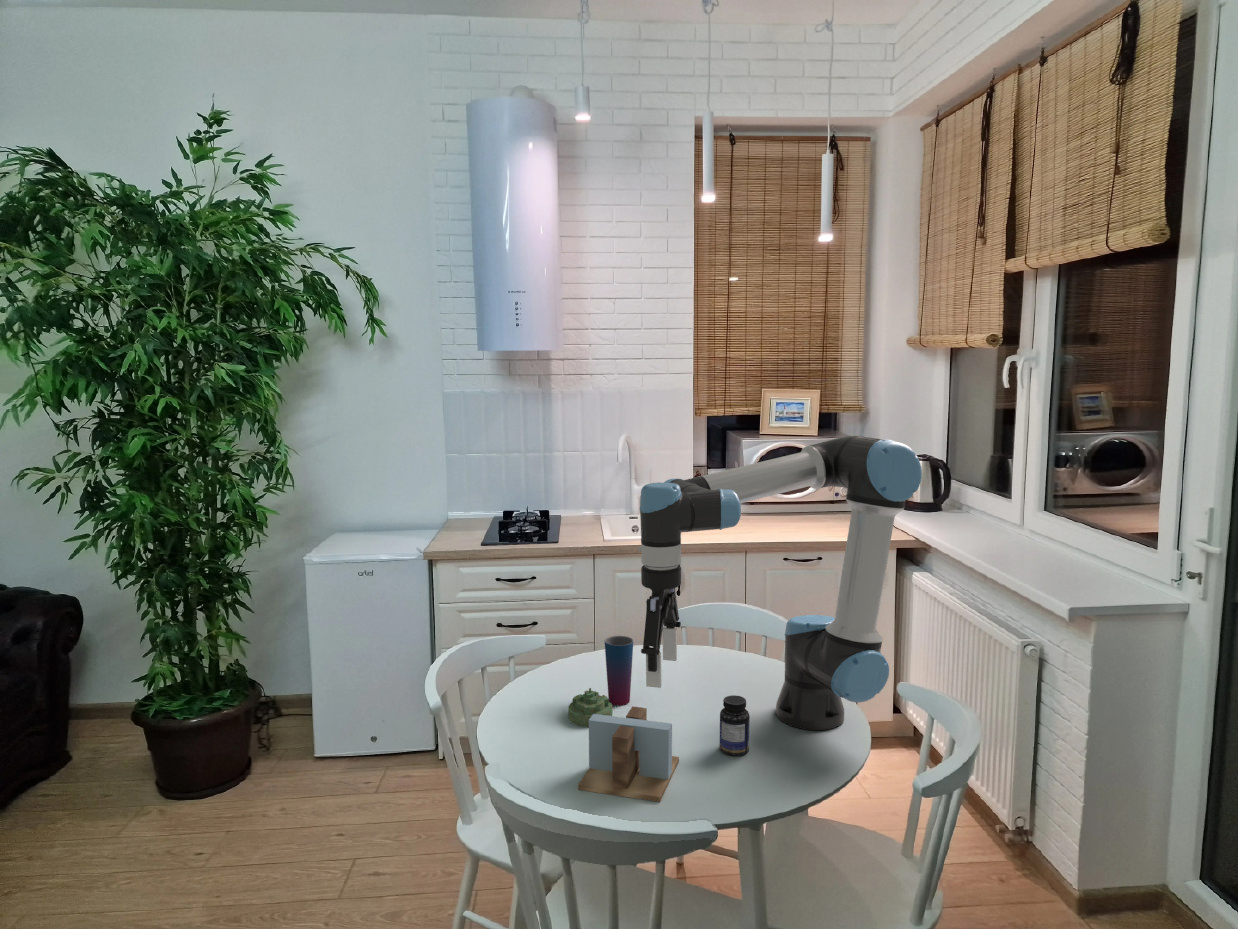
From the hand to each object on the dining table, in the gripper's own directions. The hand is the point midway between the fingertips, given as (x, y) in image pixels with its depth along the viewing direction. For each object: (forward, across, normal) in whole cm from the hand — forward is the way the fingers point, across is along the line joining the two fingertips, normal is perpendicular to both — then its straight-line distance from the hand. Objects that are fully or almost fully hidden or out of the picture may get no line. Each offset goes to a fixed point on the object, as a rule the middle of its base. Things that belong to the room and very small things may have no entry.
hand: (662, 672), depth 160 cm
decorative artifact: (+21, -22, -22) cm, 38 cm away
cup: (+21, -32, -18) cm, 42 cm away
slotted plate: (+20, +1, -6) cm, 21 cm away
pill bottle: (+22, -14, +12) cm, 29 cm away
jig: (+21, +1, -6) cm, 22 cm away
